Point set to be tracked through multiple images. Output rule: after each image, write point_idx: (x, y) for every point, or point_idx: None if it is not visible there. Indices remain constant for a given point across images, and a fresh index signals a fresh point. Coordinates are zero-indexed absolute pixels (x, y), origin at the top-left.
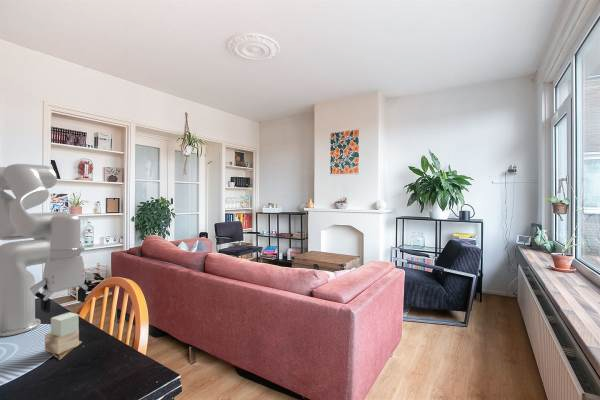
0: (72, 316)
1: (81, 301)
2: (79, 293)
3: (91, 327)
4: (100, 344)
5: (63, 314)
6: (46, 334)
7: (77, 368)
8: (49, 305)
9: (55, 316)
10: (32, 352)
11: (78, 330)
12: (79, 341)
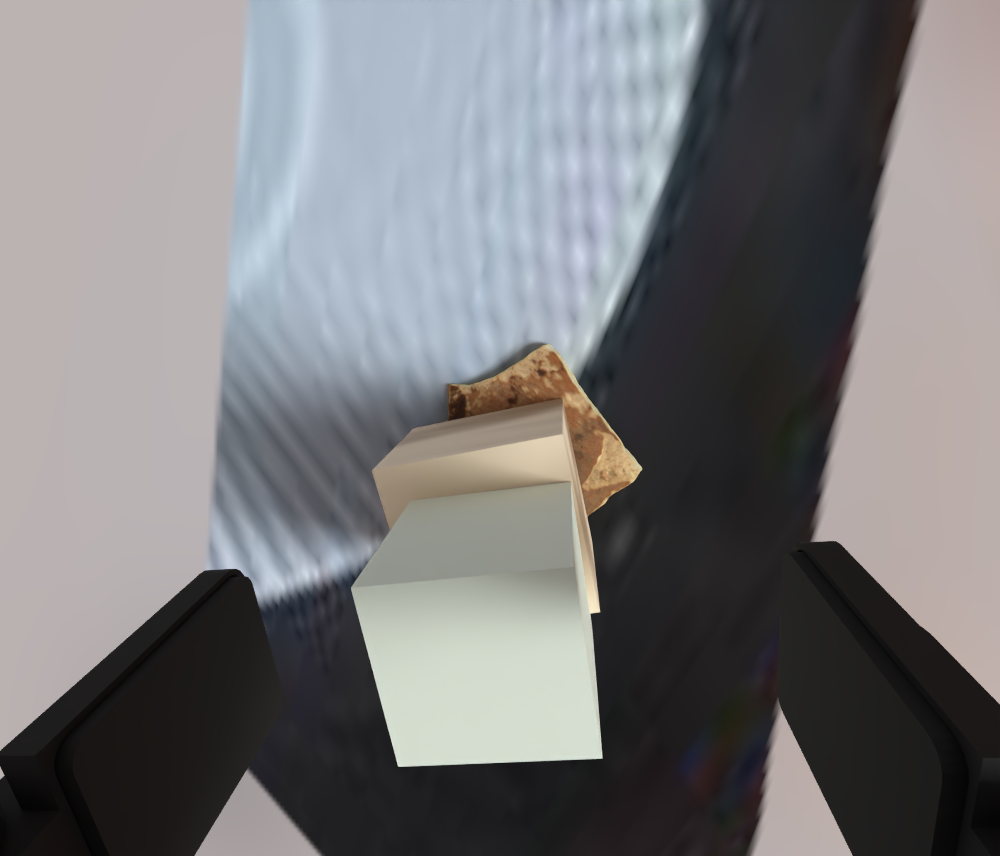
0: (530, 756)
1: (784, 679)
2: (870, 756)
3: (862, 210)
4: (695, 618)
5: (490, 603)
6: (382, 476)
7: (471, 769)
8: (208, 816)
9: (402, 586)
10: (367, 329)
11: (596, 607)
12: (630, 462)
